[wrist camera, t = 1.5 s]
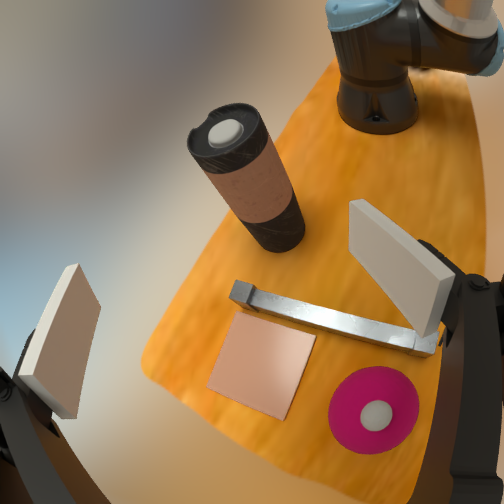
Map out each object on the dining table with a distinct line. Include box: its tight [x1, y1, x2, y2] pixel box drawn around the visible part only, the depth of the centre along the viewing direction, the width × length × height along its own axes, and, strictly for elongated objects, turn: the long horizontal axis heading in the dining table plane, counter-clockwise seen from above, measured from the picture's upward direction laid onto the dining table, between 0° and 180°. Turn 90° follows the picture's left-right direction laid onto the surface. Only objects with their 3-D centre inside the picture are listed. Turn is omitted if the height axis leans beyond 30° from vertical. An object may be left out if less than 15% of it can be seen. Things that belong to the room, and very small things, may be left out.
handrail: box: [229, 280, 439, 358], centre depth 33 cm, size 24×2×4 cm, turn 67°
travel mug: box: [187, 103, 305, 253], centre depth 35 cm, size 8×8×20 cm
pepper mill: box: [328, 366, 419, 454], centre depth 21 cm, size 7×7×20 cm
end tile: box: [206, 311, 317, 421], centre depth 35 cm, size 11×11×1 cm
